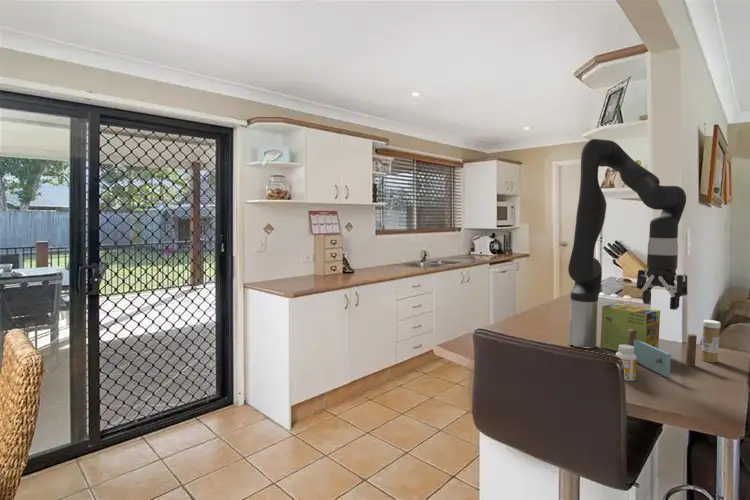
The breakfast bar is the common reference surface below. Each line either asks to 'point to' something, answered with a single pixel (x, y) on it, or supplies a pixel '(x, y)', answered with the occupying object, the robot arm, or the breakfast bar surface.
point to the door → (652, 357)
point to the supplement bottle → (628, 361)
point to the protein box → (628, 325)
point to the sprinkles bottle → (710, 340)
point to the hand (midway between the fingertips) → (659, 306)
